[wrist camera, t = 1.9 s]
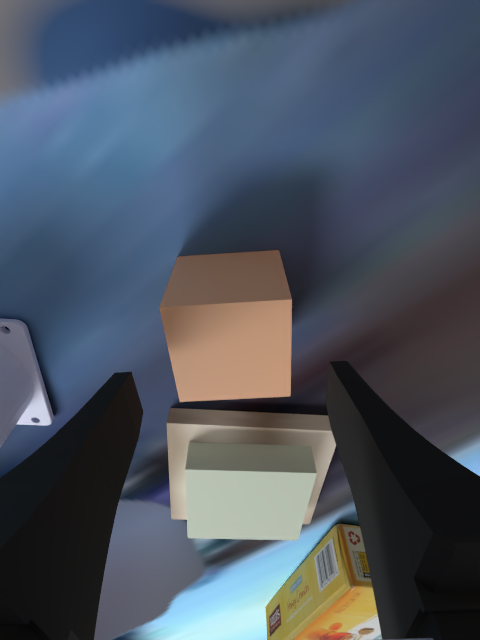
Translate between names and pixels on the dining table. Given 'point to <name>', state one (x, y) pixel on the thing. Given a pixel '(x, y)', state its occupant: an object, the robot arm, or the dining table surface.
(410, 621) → the robot arm
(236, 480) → the sage green slab
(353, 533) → the cereal box
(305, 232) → the dining table surface
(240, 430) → the ash base slab
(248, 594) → the dining table surface
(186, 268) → the terracotta cube
